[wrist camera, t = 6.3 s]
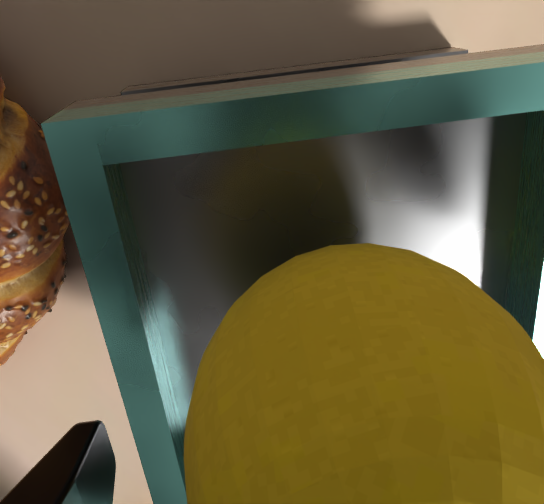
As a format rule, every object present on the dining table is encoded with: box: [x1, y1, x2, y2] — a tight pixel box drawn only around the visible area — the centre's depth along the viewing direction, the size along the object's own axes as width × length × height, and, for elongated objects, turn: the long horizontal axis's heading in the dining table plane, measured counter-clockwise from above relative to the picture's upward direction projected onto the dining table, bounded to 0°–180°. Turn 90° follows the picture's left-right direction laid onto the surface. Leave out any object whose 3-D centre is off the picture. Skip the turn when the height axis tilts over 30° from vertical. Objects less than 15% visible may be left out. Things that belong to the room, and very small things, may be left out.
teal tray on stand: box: [41, 44, 544, 504], centre depth 13 cm, size 10×10×6 cm
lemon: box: [184, 243, 544, 504], centre depth 8 cm, size 6×6×8 cm
